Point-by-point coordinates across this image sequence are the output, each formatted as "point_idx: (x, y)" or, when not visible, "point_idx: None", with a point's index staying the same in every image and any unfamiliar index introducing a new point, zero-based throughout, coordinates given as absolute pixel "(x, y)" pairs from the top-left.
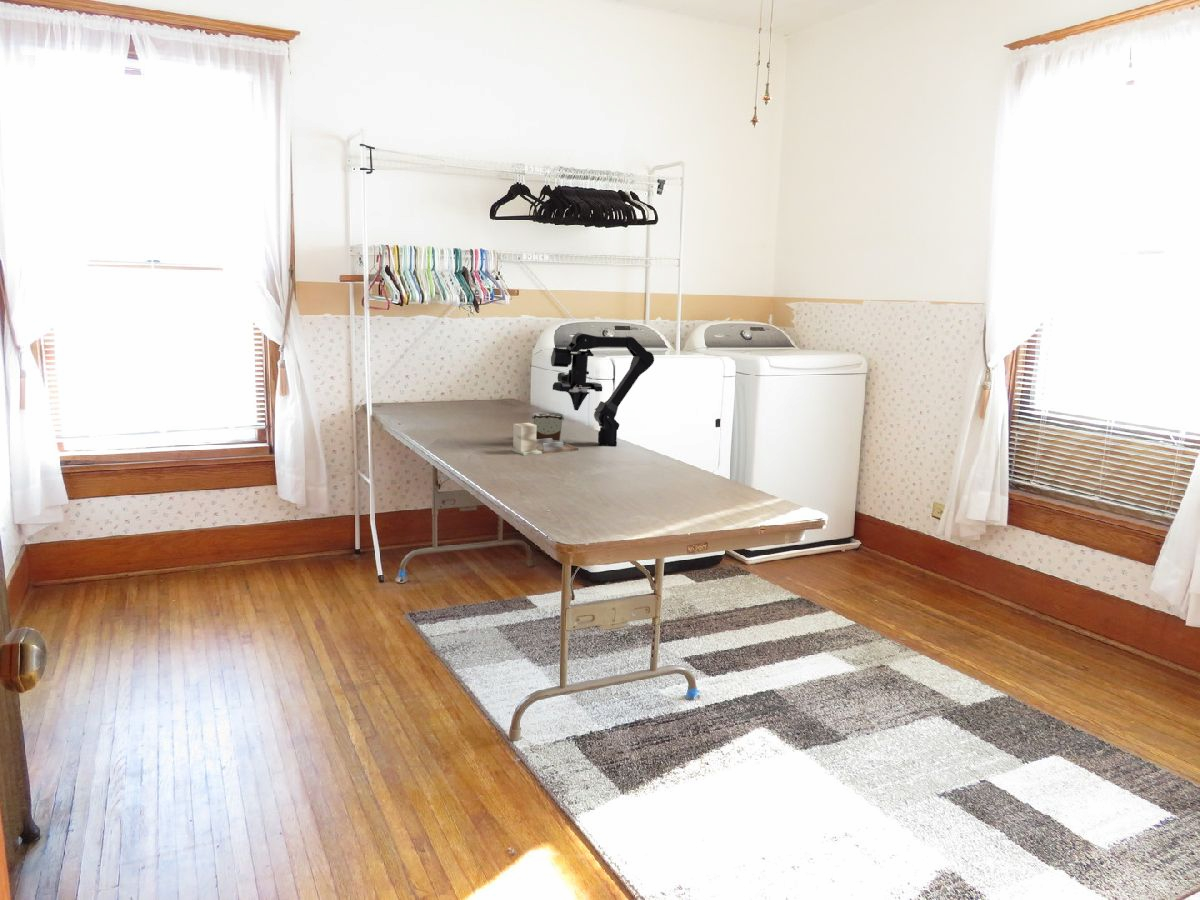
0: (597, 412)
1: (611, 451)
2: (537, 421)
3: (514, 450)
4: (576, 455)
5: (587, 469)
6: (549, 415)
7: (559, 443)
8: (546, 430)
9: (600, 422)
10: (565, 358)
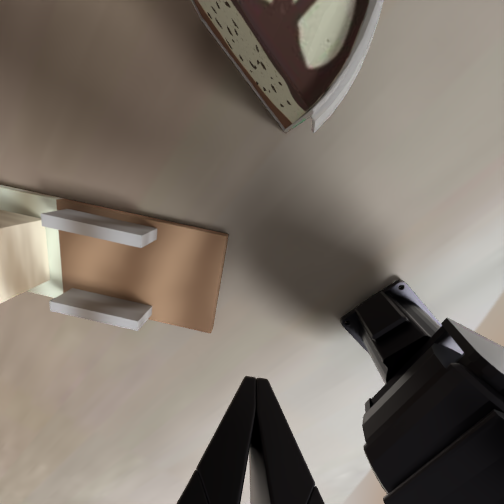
0: (434, 441)
1: (291, 398)
2: None
3: None
4: (155, 373)
5: (88, 472)
6: None
7: (122, 324)
8: (232, 44)
9: (365, 417)
10: None
